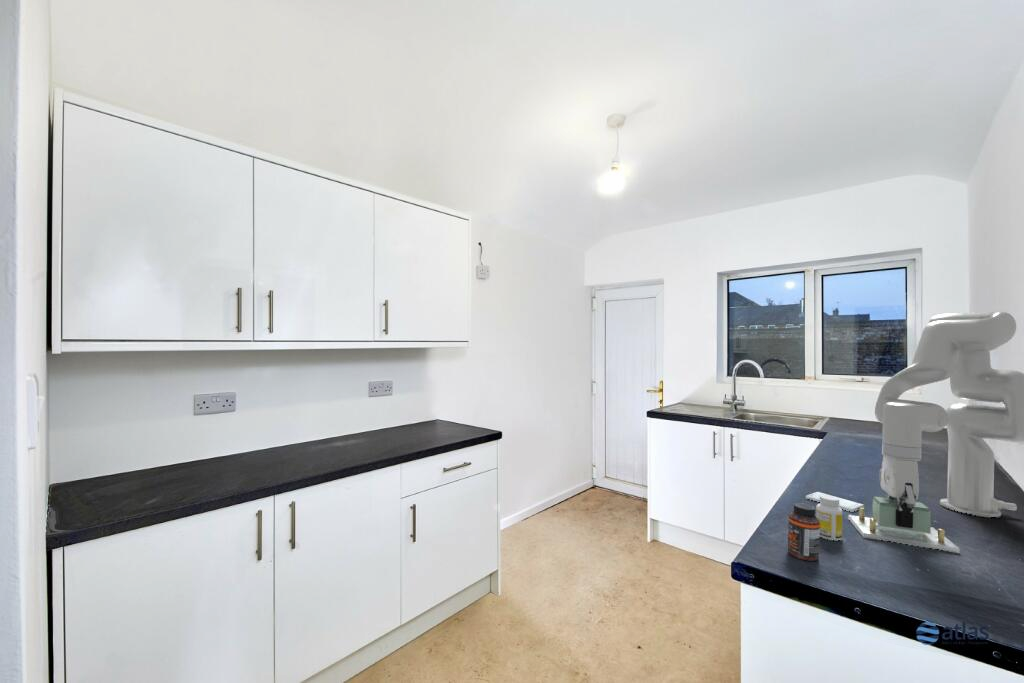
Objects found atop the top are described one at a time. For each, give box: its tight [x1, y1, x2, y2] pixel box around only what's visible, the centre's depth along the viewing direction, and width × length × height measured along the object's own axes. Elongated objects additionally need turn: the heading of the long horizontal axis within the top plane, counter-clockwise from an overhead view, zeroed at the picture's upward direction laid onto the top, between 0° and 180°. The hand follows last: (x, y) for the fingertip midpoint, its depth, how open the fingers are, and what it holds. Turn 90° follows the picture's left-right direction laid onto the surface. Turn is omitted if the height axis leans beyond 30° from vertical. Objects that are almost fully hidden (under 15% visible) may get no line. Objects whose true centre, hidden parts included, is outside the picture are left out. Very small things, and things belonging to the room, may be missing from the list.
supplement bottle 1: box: [787, 502, 821, 562], centre depth 99 cm, size 6×6×11 cm
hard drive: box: [805, 491, 865, 513], centre depth 133 cm, size 2×8×12 cm
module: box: [871, 496, 932, 533], centre depth 111 cm, size 10×5×6 cm, turn 66°
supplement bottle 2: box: [815, 494, 844, 542], centre depth 109 cm, size 5×5×10 cm
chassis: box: [847, 507, 960, 554], centre depth 111 cm, size 18×13×4 cm
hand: (899, 521), depth 111 cm, fingers closed on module, 5 cm apart
